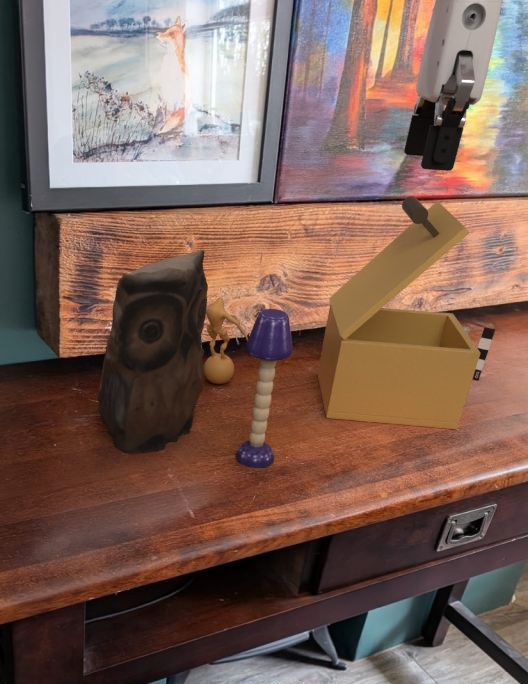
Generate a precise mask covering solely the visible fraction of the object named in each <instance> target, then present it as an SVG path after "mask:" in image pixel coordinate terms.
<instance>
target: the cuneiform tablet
mask: <svg viewBox="0 0 528 684" xmlns="http://www.w3.org/2000/svg"><path fill="white" fill-rule="evenodd" d="M461 326H462V327H463V329H464V330H465V331H466V333H467V334H468V336H469V337H470V334H471V332H472V327H470V326H466V325H464V324H463V325H462V324H461ZM495 332H496V328H491V327H487V326H484V327H483V330H482V333H481V337H480V339H479V343H478V346H477V348H478V350H479V351H480V356H479V360H478V363H477V366H476V369H475V372H474V376H473V379H472V380H475V381H479V380H480V377H481V374H482V373H483V372H482V371H483V369H484V365H485V362H486V360H487V357H488V353H489V350H490V347H491V345H492V342H493V338H494V335H495Z"/></svg>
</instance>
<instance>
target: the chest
mask: <svg viewBox="0 0 528 684" xmlns="http://www.w3.org/2000/svg"><path fill="white" fill-rule="evenodd" d="M461 325H462V324H461V323H460V321H459V320H458V319H457V317H456V316H455V315H454V313H451V312H437V311H424V310H412V309H399V308H386V307H382V308H381V309H380V310H379V311H378V312H377V313H375V314H374V315H373V316H372V317H371V318H370V319H368V320H367V321H366V322H365V323H364V324H363V325H361V326H360V327H359V328H358V329H357V330H356V331H354V332H353V333H352V334H351V335H350V336H348V337H347V338H346V339H345V340H344V339H343V338H342V337H341V336H340V333H339V330H338V327H337V323H336V320H335V317H334V313H333V310H332V307H331V303H330V304H329V308H328V314H327V319H326V325H325V331H324V336H323V342H322V347H321V352H320V357H319V362H318V368H317V379H318V383H319V389H320V393H321V399H322V404H323V407H324V413H325V418H326V419H334V420H346V421H355V422H367V423H378V424H388V425H389V424H390V425H400V426H401V425H402V426H413V427H424V428H436V429H446V430H447V429H448V430H457V429H458V428H459V424H460V420H461V417H462V414H463V411H464V407H465V404H466V401H467V398H468V395H469V392H470V388H471V385H472V382H473V380H474V379H473V376H474V372H475V369H476V366H477V363H478V360H479V356H480V351H479V350H478V346H476V344H475V343H474V341H473V340H472V339H471V337H470V335H469V336H468V334H467V333H466V331H465V330H464V329H463V327H462V326H461Z"/></svg>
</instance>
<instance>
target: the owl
mask: <svg viewBox="0 0 528 684" xmlns="http://www.w3.org/2000/svg"><path fill="white" fill-rule="evenodd" d="M204 258H205V250H204V249H200V250H197V251H193V252H189V253H186V254H183V255H179V256H173V257H168V258H164V259H160V260H158V261H155V262H150V263H147V264H144V265H143V266H141V267H139V268H137V269H135V270H133V271H132V272H130V273H127V272H125V273H122V276H121V277H120V278H119V279H118V281H117V284H116V290H115V297H114V301H113V305H112V322H111V328H110V332H109V336H108V339H107V342H106V345H105V351H104V358H103V364H102V370H101V376H100V381H99V387H98V391H97V397H96V399H97V401H98V404H99V405H98V408H97V411H98V412H99V414H100V416H101V417H102V419H103V424H104V425H105V426H106V427H107V433H108V434H109V435H110V436H111V437H112V438H113V445H114V447H115V448H117V449H119V450H120V451H122V452H123V453H127V454H131V455H132V454H134V455H135V454H139V453H141V454H146V453H151V452H152V453H153V452H159V451H163V450H164V449H165V448H166V447H167V445H168V443H176V442H178V440H179V438H180V437H182V436H183V435H189V434H190V433H191V430H192V427H193V426H192V425H193V419H194V413H195V409H196V405H197V402H198V399H199V397H200V394H201V392H202V390H203V381H204V376H205V374H204V371H205V369H204V365H205V364H204V362H203V357H204V355H205V349H203V347H202V334H203V330H204V327H205V321H206V317H207V315H206V307H208V296H207V295H208V289H209V284H208V281H207V278H206V274H205V271H204V260H205V259H204Z"/></svg>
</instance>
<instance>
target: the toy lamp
mask: <svg viewBox="0 0 528 684" xmlns="http://www.w3.org/2000/svg"><path fill="white" fill-rule="evenodd" d="M245 349H246V352H247V353H248V354H249V355H250V356H252V357H253V358H256V359H259V365H260V366H259V367H258V370H257V378H258V379H257V381H256V386H255V390H256V394H255V395H254V399H253V400H254V402H253V403H254V406H253V408H252V412H251V414H252V415H251V416H252V420H251V422H250V433H249V434H248V440H245V441H244V442H243V443H241V444H240V445H239V446H238V448H237V450H236V453H235V459H236V461H238V462H239V463H240V464H242V465H244V466H246V467H250V468H258V469H259V468H260V469H261V468H266V467H269V466H271V465H272V464H273V463H274V461H275V454H274V450H273V449H272V447H271V445H270V444H269V443H267V442H265V441H266V432H267V429H268V418H269V417H270V406H271V403H272V392H273V389H274V381H273V380H274V378H275V376H276V365H277V363H278V361H283V360H286V359H289V357H291V355H292V353H293V339H292V330H291V322H290V317H289V315H288V313H287V312H286V311H284V310H282V309H278V308H266V309H263V310H262V309H261V310H260V311H259V313H258V314H257V316H256V318H255V321H254V323H253V326H252V328H251V331H250V333H249V336H248V341H247V340H246V345H245Z"/></svg>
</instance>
